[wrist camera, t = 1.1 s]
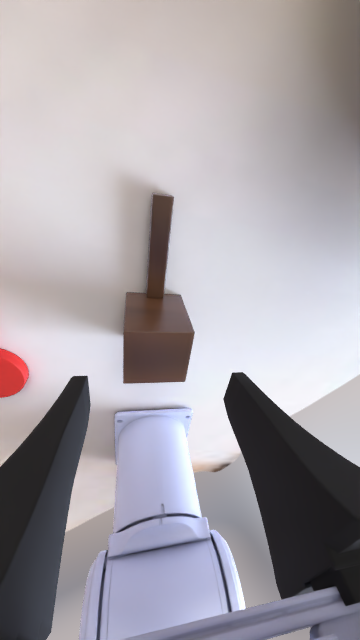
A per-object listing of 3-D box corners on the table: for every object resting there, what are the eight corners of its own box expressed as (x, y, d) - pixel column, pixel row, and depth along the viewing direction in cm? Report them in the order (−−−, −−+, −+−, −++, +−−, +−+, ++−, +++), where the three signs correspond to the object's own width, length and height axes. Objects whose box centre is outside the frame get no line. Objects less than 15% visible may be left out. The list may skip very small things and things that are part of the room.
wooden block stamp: (174, 337, 20) (185, 382, 15) (126, 337, 19) (123, 383, 15) (194, 198, 14) (219, 209, 10) (127, 189, 13) (124, 196, 9)
